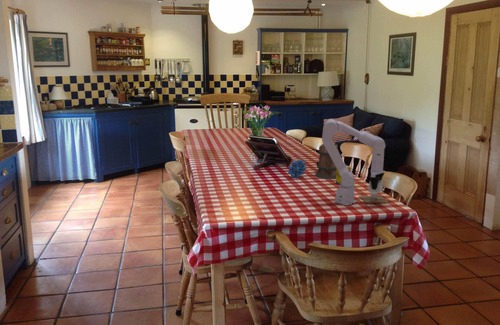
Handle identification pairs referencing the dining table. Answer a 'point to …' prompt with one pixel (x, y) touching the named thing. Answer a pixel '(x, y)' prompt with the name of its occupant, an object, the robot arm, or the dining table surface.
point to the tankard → (325, 164)
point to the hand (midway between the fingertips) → (375, 188)
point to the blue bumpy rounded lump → (297, 168)
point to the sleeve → (379, 187)
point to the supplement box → (338, 177)
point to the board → (367, 199)
